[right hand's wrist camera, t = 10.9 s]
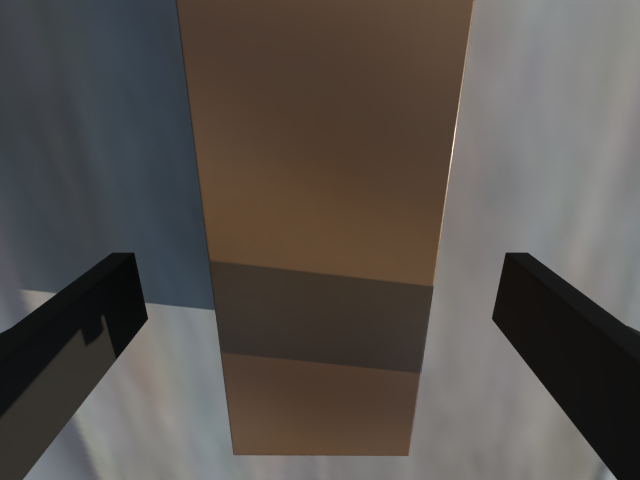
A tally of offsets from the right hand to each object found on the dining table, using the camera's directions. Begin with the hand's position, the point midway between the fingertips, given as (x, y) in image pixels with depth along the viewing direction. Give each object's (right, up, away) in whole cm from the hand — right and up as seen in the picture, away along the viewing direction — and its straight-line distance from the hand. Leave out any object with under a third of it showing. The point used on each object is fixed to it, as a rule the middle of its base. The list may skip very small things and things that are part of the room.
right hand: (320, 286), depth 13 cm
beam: (0, +33, -9) cm, 34 cm away
